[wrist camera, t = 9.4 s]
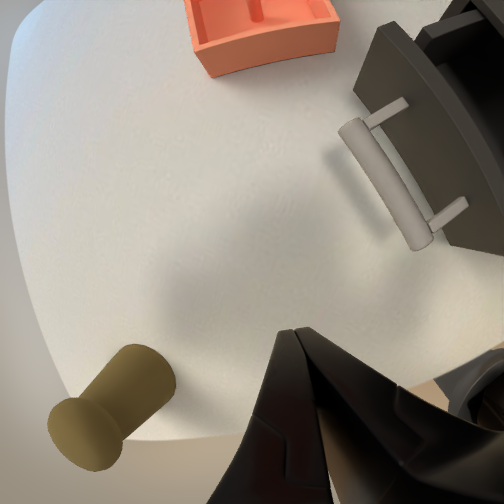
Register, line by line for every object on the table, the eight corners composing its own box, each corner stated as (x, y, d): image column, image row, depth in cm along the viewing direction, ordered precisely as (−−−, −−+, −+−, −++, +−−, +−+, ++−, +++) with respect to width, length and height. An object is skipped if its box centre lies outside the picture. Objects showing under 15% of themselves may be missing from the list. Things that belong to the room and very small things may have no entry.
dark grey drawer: (404, 279, 18) (460, 313, 11) (302, 118, 18) (304, 61, 11) (542, 161, 15) (602, 149, 7) (464, 35, 15) (505, -11, 7)
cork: (104, 367, 24) (26, 427, 13) (137, 330, 23) (48, 392, 12) (150, 414, 24) (90, 491, 13) (190, 383, 23) (128, 473, 12)
